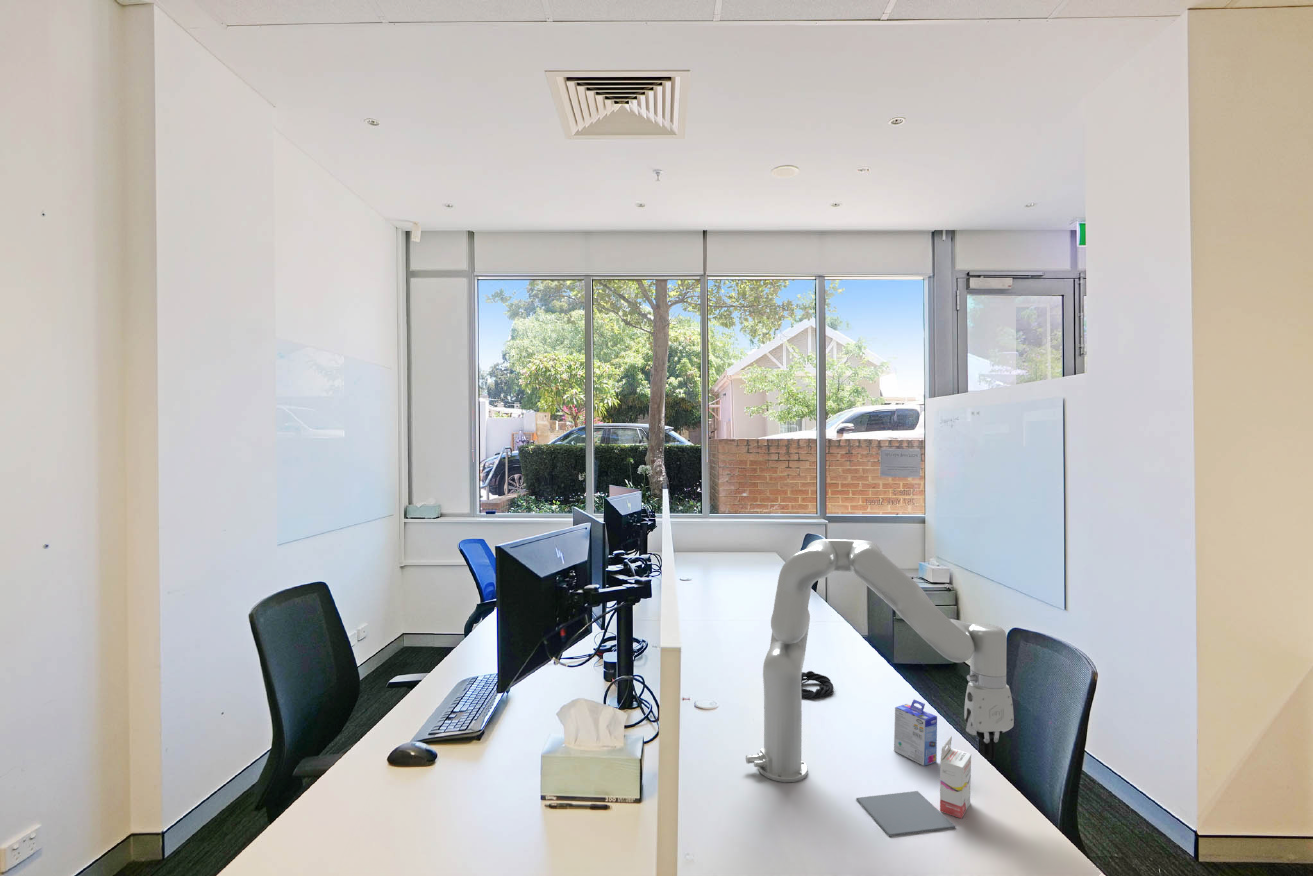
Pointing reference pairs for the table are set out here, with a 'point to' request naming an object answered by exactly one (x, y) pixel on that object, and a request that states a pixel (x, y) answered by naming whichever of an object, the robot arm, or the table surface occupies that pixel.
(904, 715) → the ink cartridge box
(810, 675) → the cable
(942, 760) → the ink cartridge box
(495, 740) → the table surface
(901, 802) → the rubber mat
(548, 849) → the table surface
